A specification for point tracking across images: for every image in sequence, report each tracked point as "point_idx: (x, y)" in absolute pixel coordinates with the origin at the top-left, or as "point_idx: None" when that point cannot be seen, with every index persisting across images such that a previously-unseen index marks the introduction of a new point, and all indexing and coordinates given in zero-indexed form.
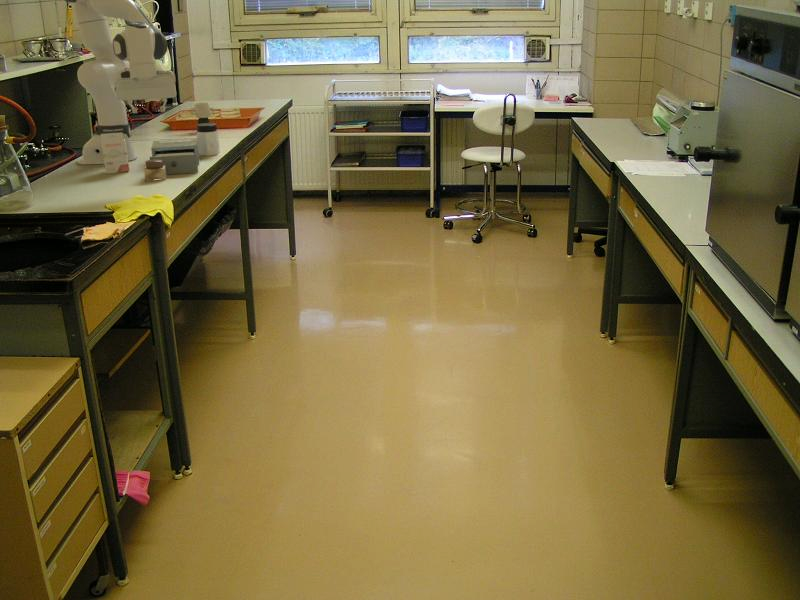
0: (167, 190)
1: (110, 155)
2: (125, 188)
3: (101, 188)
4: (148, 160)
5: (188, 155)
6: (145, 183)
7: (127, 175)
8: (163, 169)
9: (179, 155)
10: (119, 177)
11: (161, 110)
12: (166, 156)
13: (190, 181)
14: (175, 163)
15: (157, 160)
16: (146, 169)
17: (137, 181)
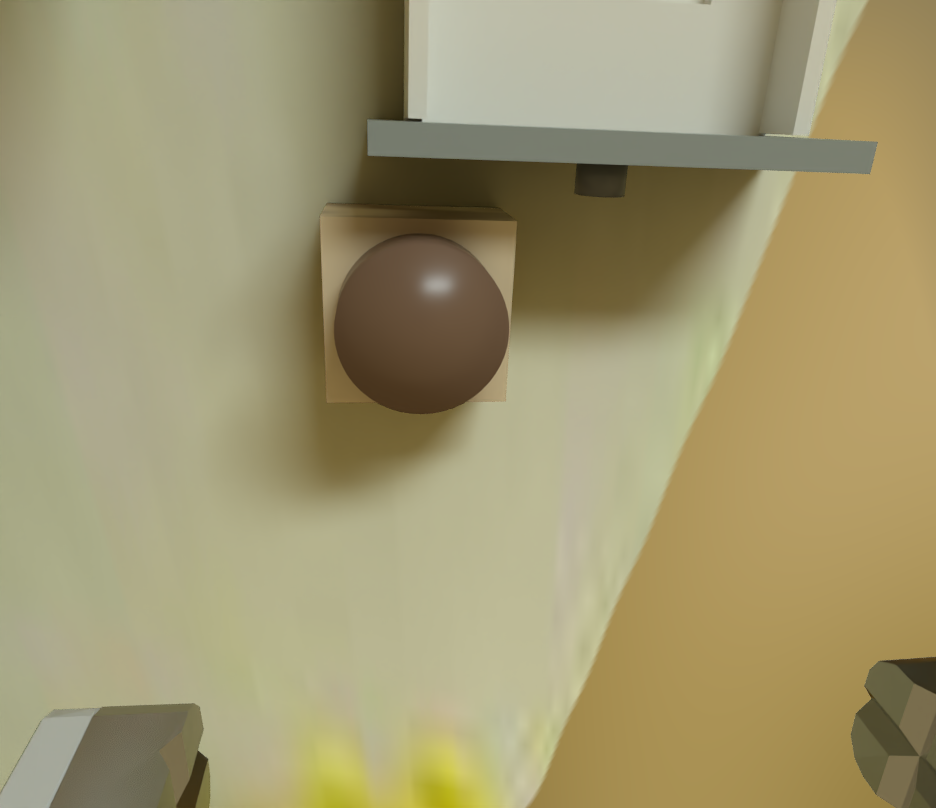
0: (497, 672)
1: None
2: (210, 560)
3: (14, 516)
4: (364, 287)
5: (787, 169)
6: (339, 443)
7: (116, 29)
8: (496, 400)
9: (698, 167)
10: (52, 108)
11: (888, 779)
12: (558, 160)
13: (658, 470)
14: (618, 195)
15: (458, 320)
16: (347, 382)
17: (265, 351)
